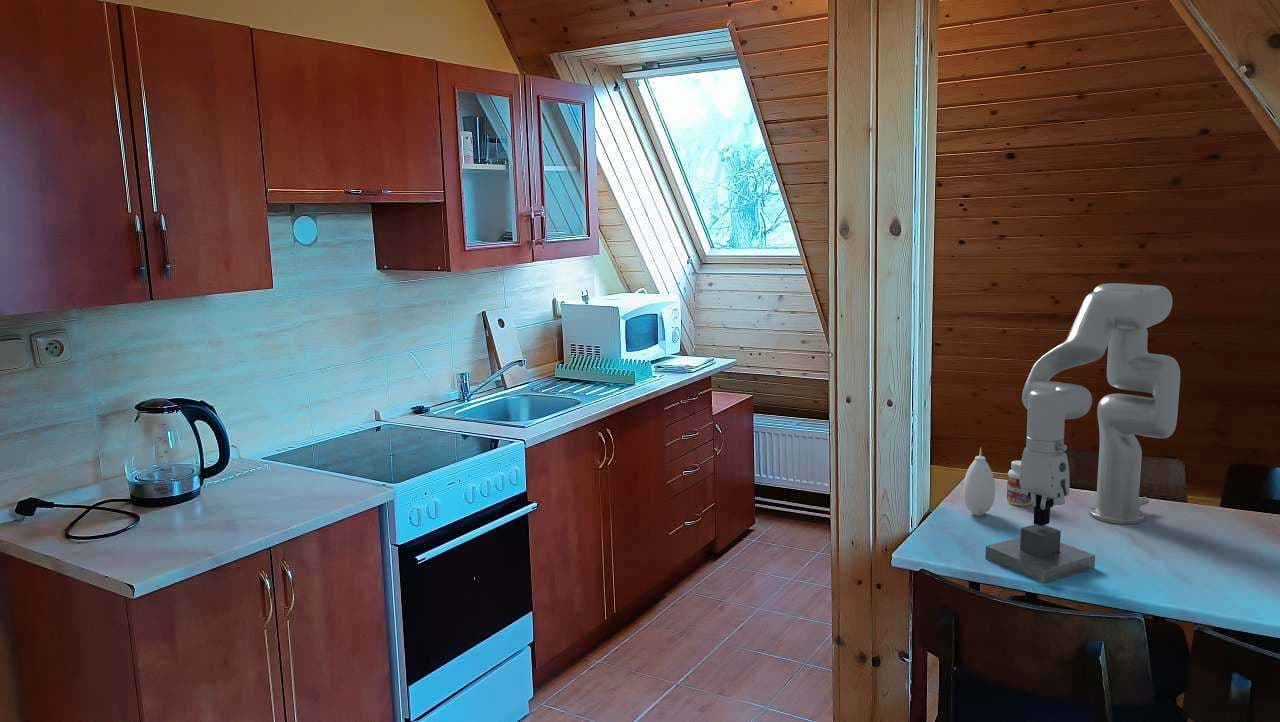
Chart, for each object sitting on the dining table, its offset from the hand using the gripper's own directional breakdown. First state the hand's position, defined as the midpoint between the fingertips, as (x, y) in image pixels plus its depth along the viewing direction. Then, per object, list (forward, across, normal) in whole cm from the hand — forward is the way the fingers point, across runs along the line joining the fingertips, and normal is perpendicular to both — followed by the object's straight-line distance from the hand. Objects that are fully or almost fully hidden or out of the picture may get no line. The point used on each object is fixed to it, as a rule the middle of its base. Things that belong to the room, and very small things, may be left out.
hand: (1041, 523), depth 208 cm
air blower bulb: (+10, +29, -12) cm, 33 cm away
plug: (+8, -1, +1) cm, 9 cm away
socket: (+9, -1, +1) cm, 9 cm away
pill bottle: (+10, +30, -28) cm, 43 cm away
